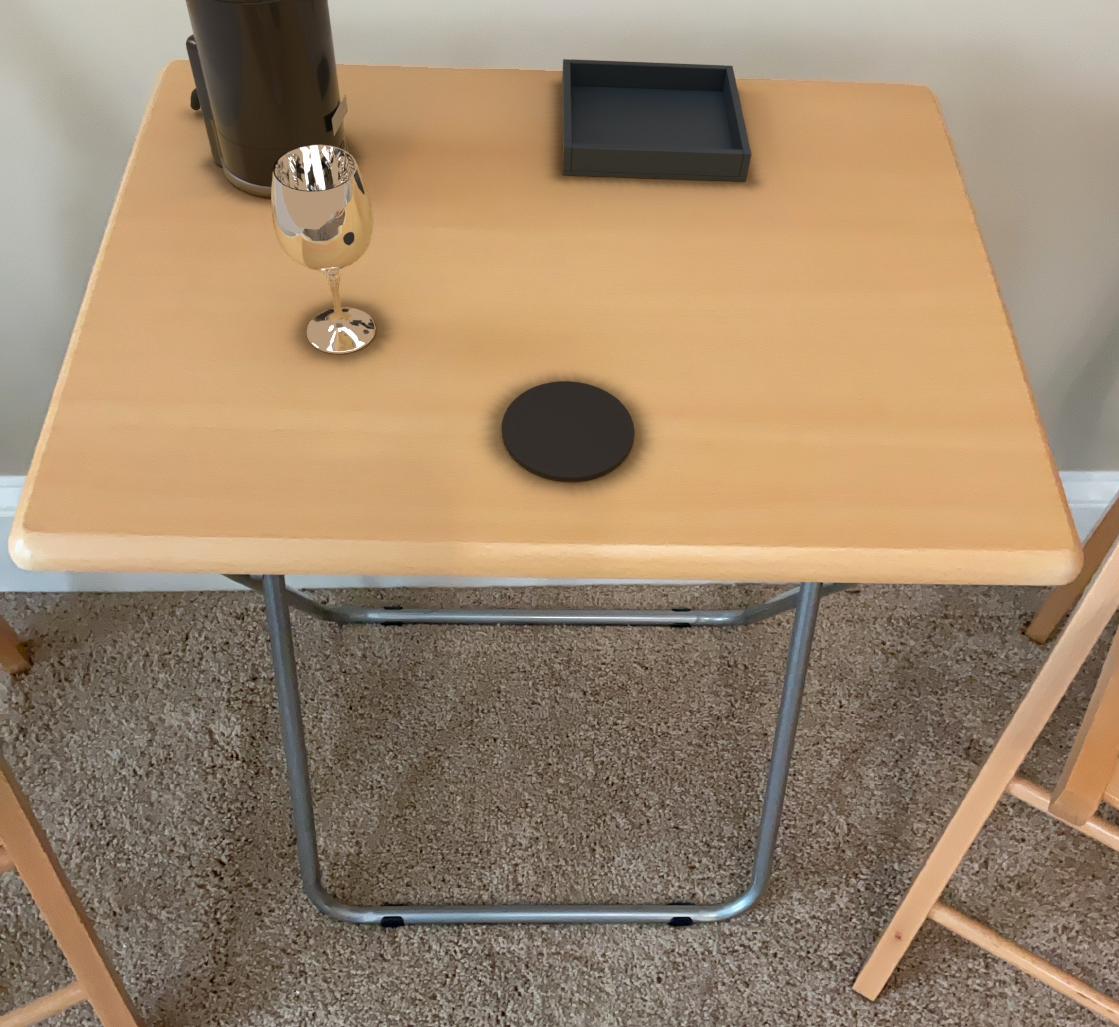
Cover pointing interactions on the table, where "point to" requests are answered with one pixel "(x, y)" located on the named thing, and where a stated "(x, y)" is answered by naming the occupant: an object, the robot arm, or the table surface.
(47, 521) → the table surface
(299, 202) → the wineglass
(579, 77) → the tray
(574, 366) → the table surface
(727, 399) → the table surface
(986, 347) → the table surface
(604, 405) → the coaster
